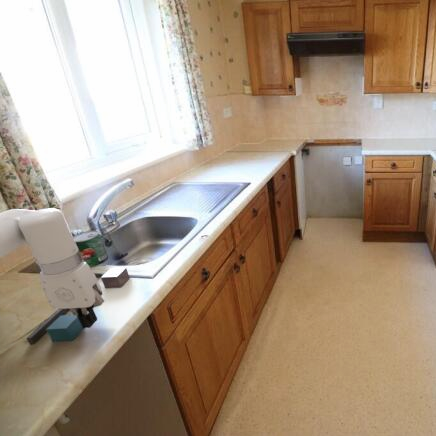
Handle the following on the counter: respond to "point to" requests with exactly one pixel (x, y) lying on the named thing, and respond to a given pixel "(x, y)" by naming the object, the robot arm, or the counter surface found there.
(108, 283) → the walnut block
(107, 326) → the counter surface
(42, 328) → the rail
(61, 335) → the teal block
